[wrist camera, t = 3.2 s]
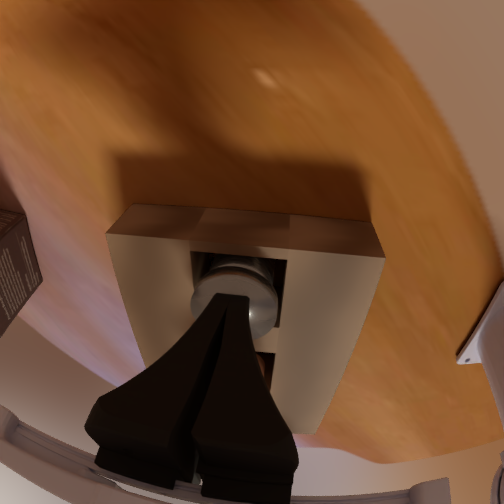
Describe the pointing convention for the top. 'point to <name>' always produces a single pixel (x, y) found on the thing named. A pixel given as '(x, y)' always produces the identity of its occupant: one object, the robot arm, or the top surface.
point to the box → (15, 267)
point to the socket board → (289, 296)
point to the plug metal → (241, 288)
